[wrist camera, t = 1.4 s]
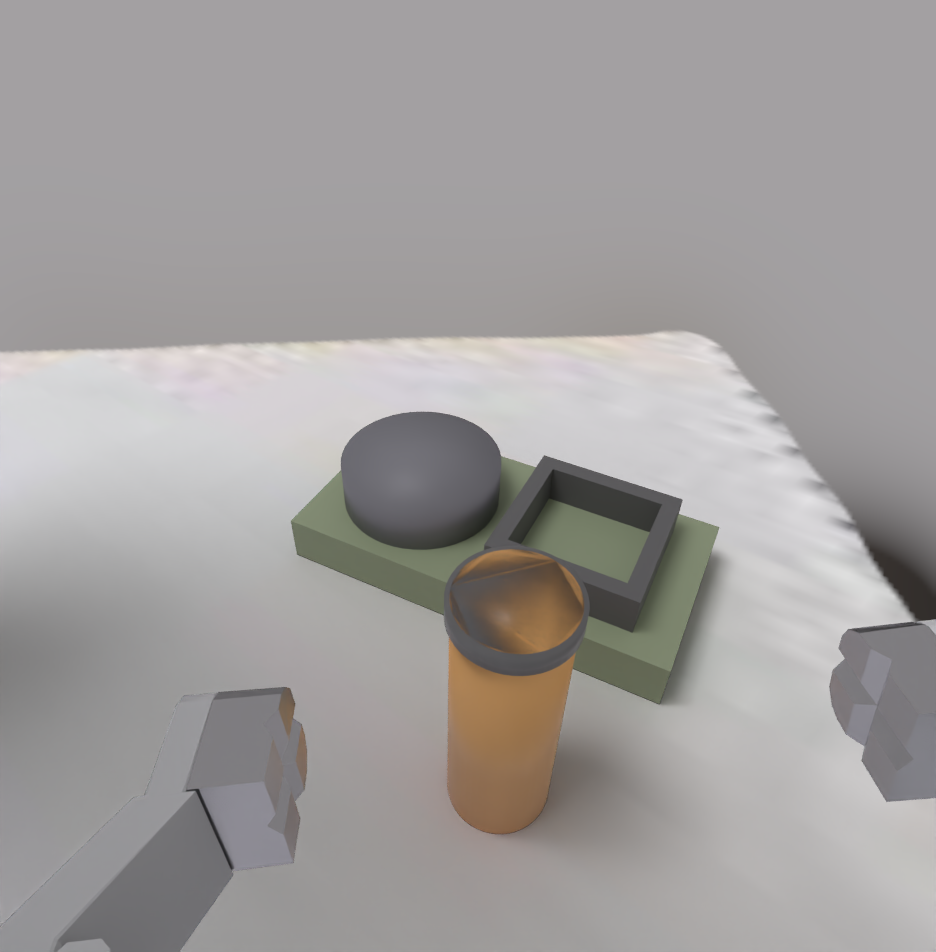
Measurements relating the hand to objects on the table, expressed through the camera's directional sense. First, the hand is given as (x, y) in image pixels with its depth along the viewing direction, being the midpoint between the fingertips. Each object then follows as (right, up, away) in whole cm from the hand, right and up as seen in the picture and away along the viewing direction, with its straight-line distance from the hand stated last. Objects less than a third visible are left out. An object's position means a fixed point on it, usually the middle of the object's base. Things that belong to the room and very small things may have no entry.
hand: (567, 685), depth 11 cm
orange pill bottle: (0, -12, +26) cm, 28 cm away
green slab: (+1, -2, +37) cm, 37 cm away
